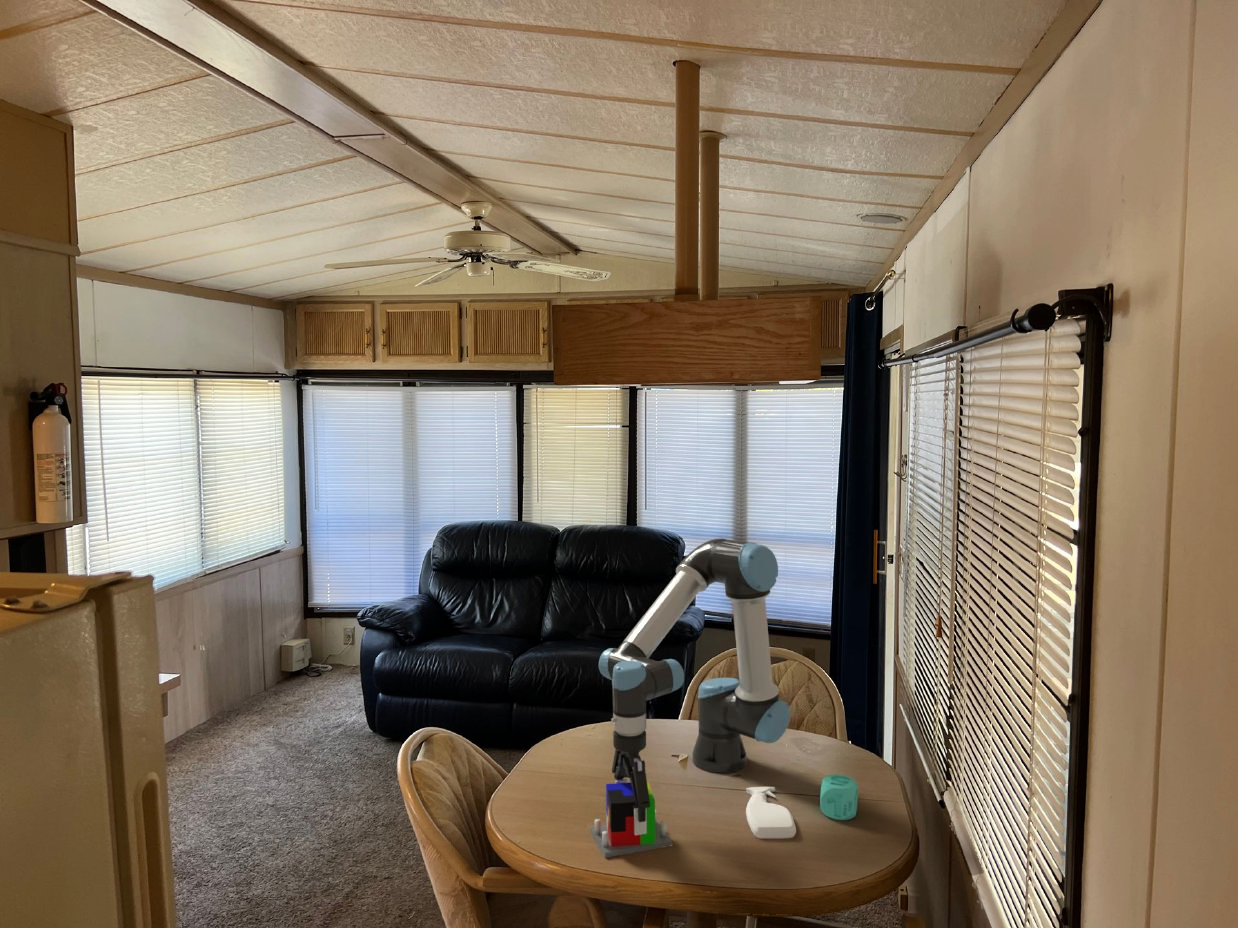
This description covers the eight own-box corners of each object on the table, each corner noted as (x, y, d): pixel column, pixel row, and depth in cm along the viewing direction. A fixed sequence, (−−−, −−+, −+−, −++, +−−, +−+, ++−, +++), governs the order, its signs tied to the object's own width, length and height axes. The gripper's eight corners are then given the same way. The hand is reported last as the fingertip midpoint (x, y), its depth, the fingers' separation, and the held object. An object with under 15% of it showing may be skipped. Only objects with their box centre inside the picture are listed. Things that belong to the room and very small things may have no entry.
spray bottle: (752, 840, 200) (737, 793, 224) (799, 839, 200) (779, 793, 224) (752, 828, 199) (737, 782, 224) (799, 827, 199) (779, 782, 224)
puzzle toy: (606, 824, 204) (606, 783, 203) (648, 822, 205) (648, 781, 205) (611, 846, 194) (610, 803, 193) (655, 843, 195) (654, 800, 195)
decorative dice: (819, 817, 210) (820, 785, 209) (824, 802, 217) (825, 771, 216) (853, 822, 207) (854, 790, 206) (857, 808, 214) (858, 776, 213)
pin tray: (653, 821, 208) (653, 804, 208) (672, 845, 197) (672, 827, 196) (589, 832, 203) (589, 814, 203) (605, 857, 192) (604, 839, 191)
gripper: (598, 713, 209) (599, 798, 210) (631, 753, 185) (632, 848, 187) (627, 709, 211) (628, 793, 213) (664, 748, 187) (665, 842, 189)
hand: (630, 819), depth 200 cm, fingers open, 13 cm apart
